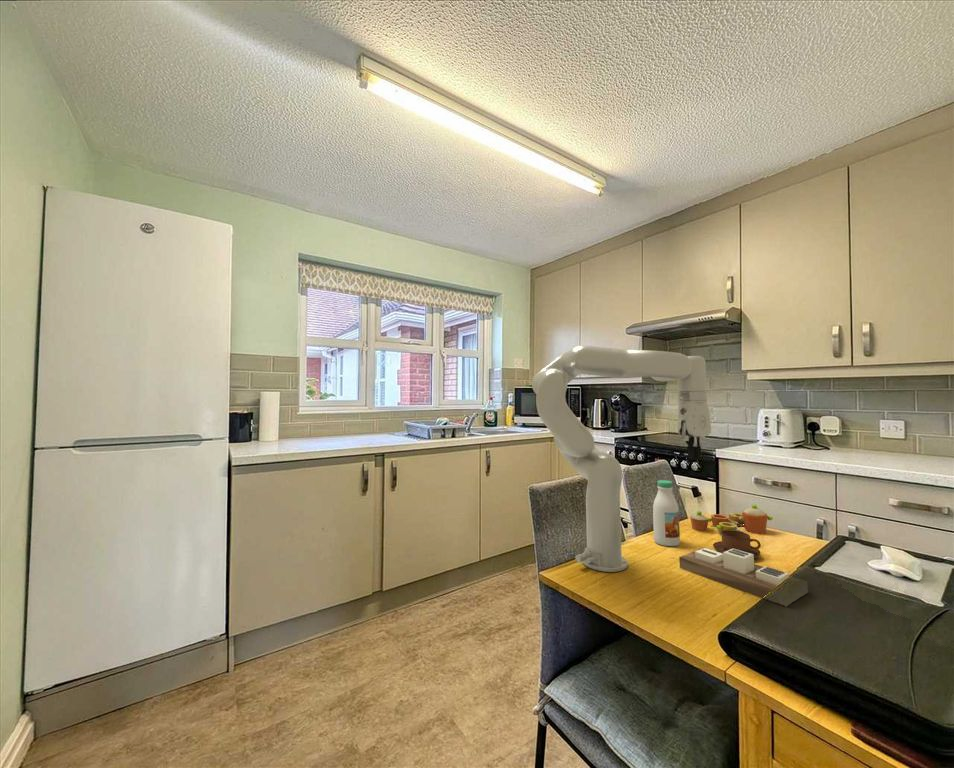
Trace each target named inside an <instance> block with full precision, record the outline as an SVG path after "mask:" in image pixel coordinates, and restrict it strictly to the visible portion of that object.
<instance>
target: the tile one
mask: <svg viewBox="0 0 954 768" xmlns="http://www.w3.org/2000/svg"><path fill="white" fill-rule="evenodd" d="M703 548H704V547H703ZM700 549H701V550H699V549H697V550H698V551H697V550H695V551H696V552H695V558H697V559H700V560H703V561H706V562H709V563H712V564H717V563H719V562H722V561H723V553H719V552H718V551H717V550H712V549H709V548H706V547H705V548H704V549H702V548H700Z"/></svg>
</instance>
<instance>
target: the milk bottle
mask: <svg viewBox="0 0 954 768" xmlns="http://www.w3.org/2000/svg"><path fill="white" fill-rule="evenodd" d="M673 486H674V485H673V482H672V481H671V480H666V479H665V480H664V479H663V480H662V479H660V480H657V489H658V491H657V494H656V496H655V498H654V501H653V506H652V515H653V516H652V519H653V520H652V521H653V540H654V542H655V543H656V544H658V545H661V546H664V547H677V546H679V545H680V543H681V532H680V530H681V529H680V512H679V511H680V509H679V505H678V501H677V500H676V498H675V495H674V494H673V493H674V492H673V489H674V488H673Z"/></svg>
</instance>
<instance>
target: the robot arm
mask: <svg viewBox="0 0 954 768" xmlns="http://www.w3.org/2000/svg"><path fill="white" fill-rule="evenodd" d="M706 366H707V365H706V360H705V358H704V356H701V355H688V356H687V355H686V354H683V353H680V352H673V351H664V350H649V349H648V350H647V349H646V350H645V349H644V350H643V349H642V350H641V349H629V348H628V349H626V348H625V349H622V348H613V347H605V346H604V347H602V346H594V345H577V346H574V347H572V348H569V349H567V350H566V351H564V352H563V353H562V354H561V355H559V356H558V357H557V358H555V359H554V360H552V362H550V363H549V364H548V365H547V366H545V367H543V368H542V369H541V370H540V371H538V372H537V373H536V374H535V375H534V376H533V378H532V380H531V381H532V382H531V387H532V390H533V392H534V394H536V395H535V397H536V398H535V405H536V411H537V413H538V416H539V417H540V420H541V421H542V423H543V424H544V425H545V426H546V428H547V429H548V430H549V432H550V433H551V434H552V435H553V443H554V445H555V447H556V449H557V450H558V452H560V454H561V455H562V457H563V458H565V460H566V461H567V462H568V464H570V465H571V467H572V468H573V469H574V470H575V471H576V472H577V474H579V476H581V477H582V478H584V479H586V480H587V484H586V485H587V486H586V491H585V516H586V517H585V519H586V523H585V525H586V547H584V551H583V552H582V553H580V554H579V553H578V554H575V557H574V558H575V561H576V562H577V563H582V564H583V565H584V566H585V567H587V568H589V569H592V570H594V571H597V572H598V571H599V572H606V573H616V572H622V571H624V570H626V569H627V568H628V560H627V559H626V558H625V556H623V555H622V554H623V553H622V552H623V551H622V526H621V525H622V523H621V521H622V518H621V515H622V514H621V489H622V488H621V486H622V481H623V469H622V466H621V463H620V461H618V459H617V458H615V457H614V456H613V455H611V454H609V453H607V452H604V451H600V450H599V449H597V448H596V446H595V439H594V436H593V434H592V433H591V431H590V430H589V429H588V428H587V427H586V426H585V425H584V424H583V423H582V422H581V421H580V419H579V418H578V417H577V416H576V415H575V414H574V412H573V411H572V409H571V408H570V407H569V405H568V403H567V399H566V392H567V389H568V385H569V383H571V382H572V381H573V380H574V379H575V378H577V376H580V375H584V376H585V375H586V376H587V375H588V376H595V377H596V376H597V377H607V378H608V377H609V378H615V379H630V378H631V379H632V378H633V379H634V378H651V379H653V380H654V381H657V382H671V381H677V395H678V396H677V403H678V408H677V432H678V435H679V436H681V438H680V439H681V440H682V441H684V442H685V445H686V447H687V449H686V451H687V453H686V454H687V459H688V460H690V461H701V460H702V446H703V440H705V439H706V436H709V435H710V434H712V424H711V418H710V409H709V405H708V395H707V394H708V393H707V392H708V391H707V369H706V368H707V367H706Z"/></svg>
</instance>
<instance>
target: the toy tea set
mask: <svg viewBox="0 0 954 768" xmlns="http://www.w3.org/2000/svg"><path fill="white" fill-rule="evenodd" d="M689 518H690V523H691V528H692V530H694V531H698V532H707V530H708V524H709V523H711V522H712V523H711V524H712V526H713V527H714V528H716V529H717V533H718V534H719V535H721V532H722V531H724V530H734V531H740V532H744V531H743V529H739V528H738V527H740V528H741V527H744V529H745V532H748V533H751V534H756V535H765V534H766V532H767V524H768V521H772V520H773V517H772V516H771V515H768V513H766V512H765V511H763V510H762V509H760V508H758V507H757V504H752V505H751V506H750V507H747V508H746V509H745V508H744V510H742V512H741V513H737V512H734V513H733V512H730V513H728V515H724V514H717V513H716V514H715V513H713V514H711V515H710V517H706V516H705V515H704V514H702V511H701V510H697V511H696V514H693V515H690V517H689ZM743 524H744V525H743Z"/></svg>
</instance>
